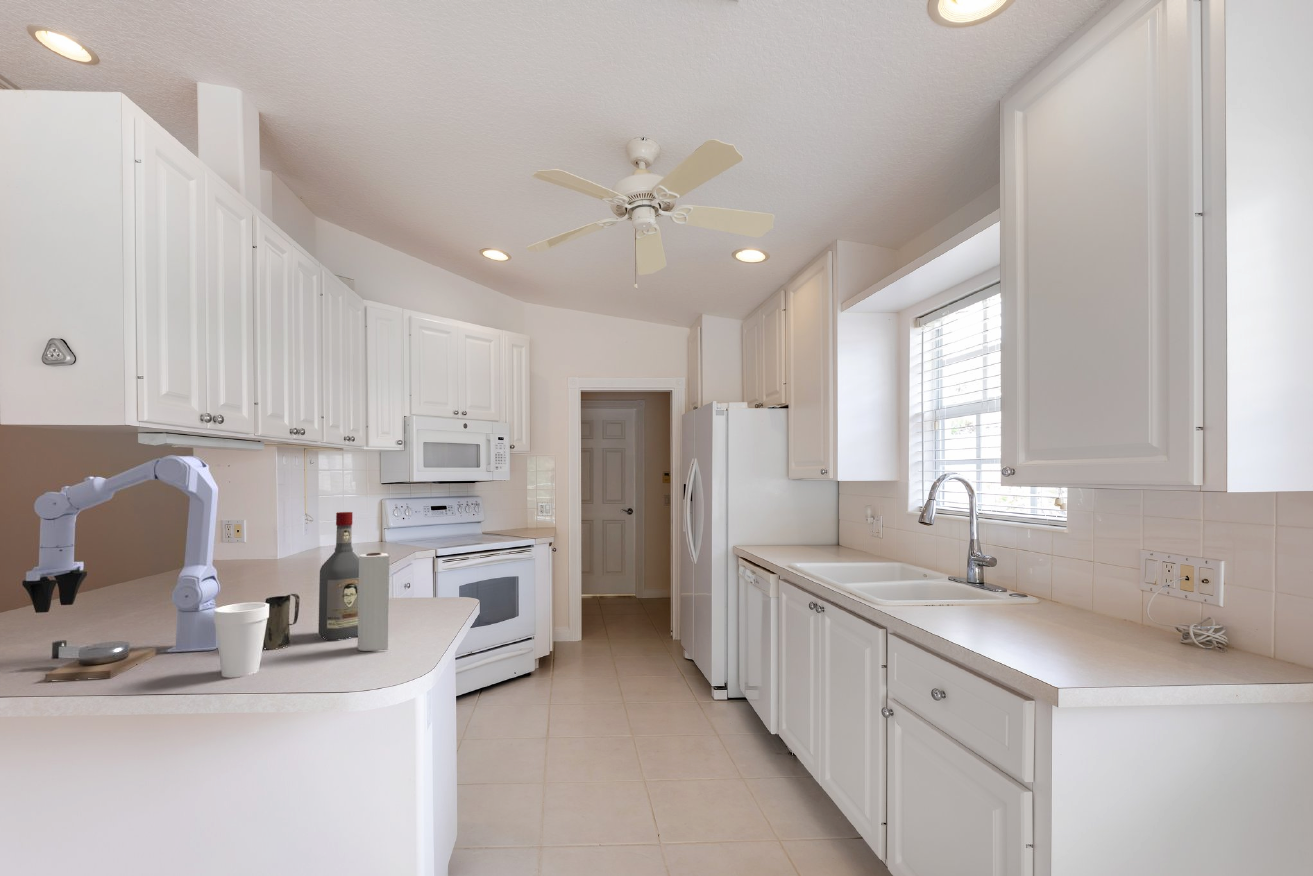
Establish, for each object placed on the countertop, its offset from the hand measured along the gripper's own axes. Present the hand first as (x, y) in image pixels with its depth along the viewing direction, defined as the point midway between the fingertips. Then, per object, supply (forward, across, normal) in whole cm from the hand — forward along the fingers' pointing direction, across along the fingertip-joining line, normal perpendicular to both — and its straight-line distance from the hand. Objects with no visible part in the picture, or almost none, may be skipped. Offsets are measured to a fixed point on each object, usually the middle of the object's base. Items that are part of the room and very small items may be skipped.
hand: (54, 608), depth 144 cm
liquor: (+10, -6, +58) cm, 59 cm away
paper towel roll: (+10, +8, +68) cm, 69 cm away
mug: (+10, +2, +47) cm, 48 cm away
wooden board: (+10, +12, +17) cm, 23 cm away
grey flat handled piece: (+8, +12, +13) cm, 20 cm away
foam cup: (+10, +21, +46) cm, 52 cm away
